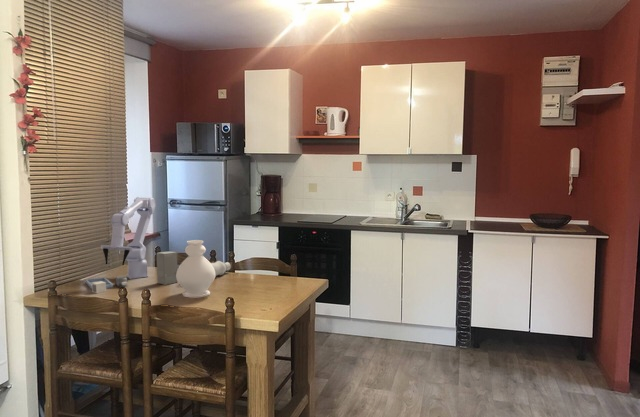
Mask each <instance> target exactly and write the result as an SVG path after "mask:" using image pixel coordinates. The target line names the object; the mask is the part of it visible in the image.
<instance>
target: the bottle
mask: <svg viewBox="0 0 640 417" xmlns="http://www.w3.org/2000/svg"><path fill="white" fill-rule="evenodd" d="M210 263H211V264H212V266H213V267H214V270H215V277H217V276H223V275H224V274H225V273H226V271H230V270H231V267H232V265H231V263H230V262H228V261H227V262H224V261H223V262H222V261H221V260H217V261H215V262H210Z"/></svg>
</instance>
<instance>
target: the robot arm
mask: <svg viewBox="0 0 640 417" xmlns="http://www.w3.org/2000/svg"><path fill="white" fill-rule="evenodd" d="M155 208H156V201H155V198H154V197H139V196H137V197H135V198H134V199H133V202H132V204H130V206H124V208H122V210H120V211H119V212H118V213H114V214H113V215H112V216H111V218H110V222H111V228H112V233H111V238H110V239H111V240H110V245H108V244H107V245H106V244H105V245H104V244H100V249H101V250H102V251H103V255H104V258H105V265H108V262H109V261H108V260H109V259H108V258H109V250H113V251H123V259H122V266H124V265H125V262H127V274H126V275H125V277H127V279H129V280H130V279H131V280H132V279H140V278H141V279H142V278H146V277H149V275H148V262H147V259H145V258H146V253H147V247H146V246H145V245H144V244H143V243H144V240H145V238H146V234H147V231H148V227H149V224H150V221H151V217H152V215H153V214H154V212H155ZM135 212H136V213H137V214H138V215H139V220H138V224H137V227H136V230H135V233H134V236H133V239H132V241H131V242H130V243H128V244H127V245H126V246H124V240H125V233H126V232H125V230H126V226H127V225H128V224H129V221H130V219H131V218H132V217H133V216H135Z"/></svg>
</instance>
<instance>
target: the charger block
mask: <svg viewBox="0 0 640 417" xmlns="http://www.w3.org/2000/svg"><path fill="white" fill-rule="evenodd" d="M91 292H92V293H95V294H101V293H105V292H107V289H106V282H103V281H98V282H93V283H92V289H91Z"/></svg>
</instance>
